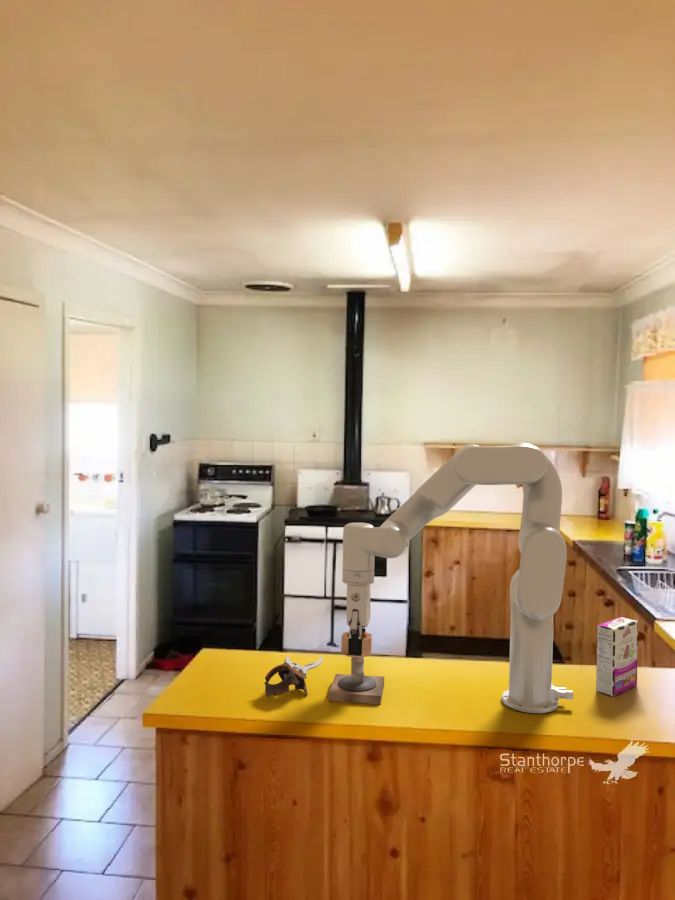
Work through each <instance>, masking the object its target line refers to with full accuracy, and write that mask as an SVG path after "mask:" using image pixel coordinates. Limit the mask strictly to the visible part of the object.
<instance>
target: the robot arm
mask: <svg viewBox="0 0 675 900" xmlns="http://www.w3.org/2000/svg"><path fill="white" fill-rule="evenodd" d="M500 485H501V486H505V485H507V486H509V485H521V487H522V495H523V497H522V510H521V519H520V526H519V532H518V537H517V547H518V549H519V552H520V561H519V562H520V563H519V569H517V571H516V572H515V573H513V575H512V577H511V579H510V584H509V601H510V602H509V605H510V606H509V608H510V609H509V610H510V622H509V624H510V626H509V628H510V630H509V633H510V634H509V671H508V673H509V674H508V677H509V678H508V689H507V690H505V691H503V692H502V694H501V701H502V703H503V704H504V705H505V706H507V707H508V708H510V709H512V710H516V711H519V712H522V713H526V714H547V712H548V713H551V712H554V711H556V710H557V709H559V708H558V707H559V700H560V699H562V700H563V699H564V700H570V701H572V700H574V692H573V690H567V689H566V687H564V686H563V687H562V686H561V687H557V686H555V685H553V653H554V652H553V651H554V650H553V648H554V647H553V646H554V614H556V613H557V611H558V610H559V608H560V606H561V602H562V597H563V591H564V582H565V575H566V568H567V567H566V566H567V560H568V559H567V558H568V552H567V551H568V550H567V549H568V548H567V543H566V541H565V538H564V536H563V534H561V532H560V531H561V529H560V528H561V519H562V518H561V517H562V504H563V487H562V481H561V479H560V475H559V473H558V471H557V469H556V467H555V465H554V464H553V462H552V461H551V460H550V458H549V457H548V456H547V455H545V453H544V451H543V450H542V449H541V448H539V447H538V446H536V445H533V444H531V443H528V442H518V443H515V444H512V445H499V446H495V445H494V446H487V445H486V446H484V445H483V446H482V445H481V446H480V445H477V444H470V443H469V444H467V445H464V446H462V447H461V448H459V449H458V450H457V451H456V452H454V454H453V455H452V456H450V458H448V460H446V462H444V464H442V465H441V466H440V467H439V468H438V470H436V471H435V472H434V473H433V474H432V475H431V476H430V477H429V478H428V479H427V480H426V481H425V482H423V484H422V485H420V486H419V487H418V488H417V489H416V491H414V493H413V494H412V495H411V496H410V497H409V498H408V499H406V501H404V503H403V504H402V505H401V506H400V507H398V508H397V509H396V510H395V511H394V512H393V513H392V514H391V515H390V516H389V517H388V518H386V520H385V521H383V523H382V524H381V525H380V526H376V527H375V526H374V525H372V524H371V523H367V522H349V523H347V524H345V525H344V527H343V530H342V532H343V533H342V570H341V571H342V573H341V574H342V577H341V578H342V583H343V584H345V585H346V625H347V626H348V627H349V629H348V630H349V631H348V632H349V638H348V655H352V656H361V655H362V638H361V632H362V631H363V632H366V628H367V627H368V626H369V625H370V620H371V585H372V584H374V583H375V557H380V558H384V559H396V558H399V557H401V555H403V554H404V553H405V551H406V549H407V546H408V543H409V541H410V540H411V539H412V538H413V537H415V536H416V534H417V533H419V532H420V531H421V530H422V529H423V528H425V526H427V525H428V524H429V523H430V522H432V521H433V520H435V519H437V518H439V517H441V516H444V515H445V514H446V513H448V512H449V511H450V510H451V509H452V508H453V507H454V506H456V505H457V504H458V502H460V501H461V499H463V498H464V497H465V496H466V495H467V494H468V493H469V492H470V491H471V490H472V489H474V488H475V487H476V486H500Z"/></svg>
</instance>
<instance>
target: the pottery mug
mask: <svg viewBox="0 0 675 900" xmlns="http://www.w3.org/2000/svg"><path fill="white" fill-rule="evenodd" d="M276 674H277V675H278V676H279V678H280V679H281V681H280V682H278V683H275V684H272V683H269V682H270V680H271V678H273V677H274V676H275V675H276ZM264 677H265V678H264V679H265V682H264V685H265V687H264V692H265V695H266V697H270V696H273V697H275V696H277V695H278V696H279V695H281V694H283V693H287V694H291V692H290V686H291V685H293V686H294V689H295V690H296V689H297V690H302V691H304V696H305V697H306V696H307V697H308V696H309V695H308V694H309V693H308V688H307V684H306V681H305V678H304V677H303V675H302V674H301V673H300V672H299V671H298V670H296V669H294V668H291V666H290V665H289V664H288V663H286V662H284V663H282V664H279V665H277V666H274V667H273V668H271V670H269V671H268V673H267V674H266V675H265V676H264Z"/></svg>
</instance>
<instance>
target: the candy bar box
mask: <svg viewBox="0 0 675 900" xmlns="http://www.w3.org/2000/svg"><path fill="white" fill-rule="evenodd" d="M638 629H639V621H638V620H636V619H632V618H628V617H627V618H626V617H624V616H623V617H622V616H619V617H616V618H614V619H611V620H608V621H606V622H603V623H600V624H598V625H596V680H595V681H596V683H595V684H596V686H595V687H596V689H595V691H596V692H598V693H600V694H604V695H606V696H610V697H612V698H615V697H616V696H619V695H621V694H623V693H625V692H627V691H629V690H631V689H633V688H635V687H637V686H638V645H639V644H638V643H639V642H638V641H639V640H638V639H639V637H638V636H639V630H638Z"/></svg>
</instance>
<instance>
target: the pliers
mask: <svg viewBox="0 0 675 900" xmlns="http://www.w3.org/2000/svg"><path fill="white" fill-rule="evenodd" d="M290 658H291V657H290V655H287V656H286V658H285V663H288V664H289V665H290V666H291V667H292V668H294V669H296V670H298V671H299V672H300V673H302V674H301V675H302V677H303V678H304V677H306V678H307V675H308V671H310V670H312V668H313V669H316V668H317V667H319V666H321V664H322V663H323V656H320V657H319V659H318V660H317V661H316V662H310V663H306V664H304V665H301V664H299V663H298V662H294V661H291V659H290ZM295 664H296V665H295ZM315 667H316V668H315Z"/></svg>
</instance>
